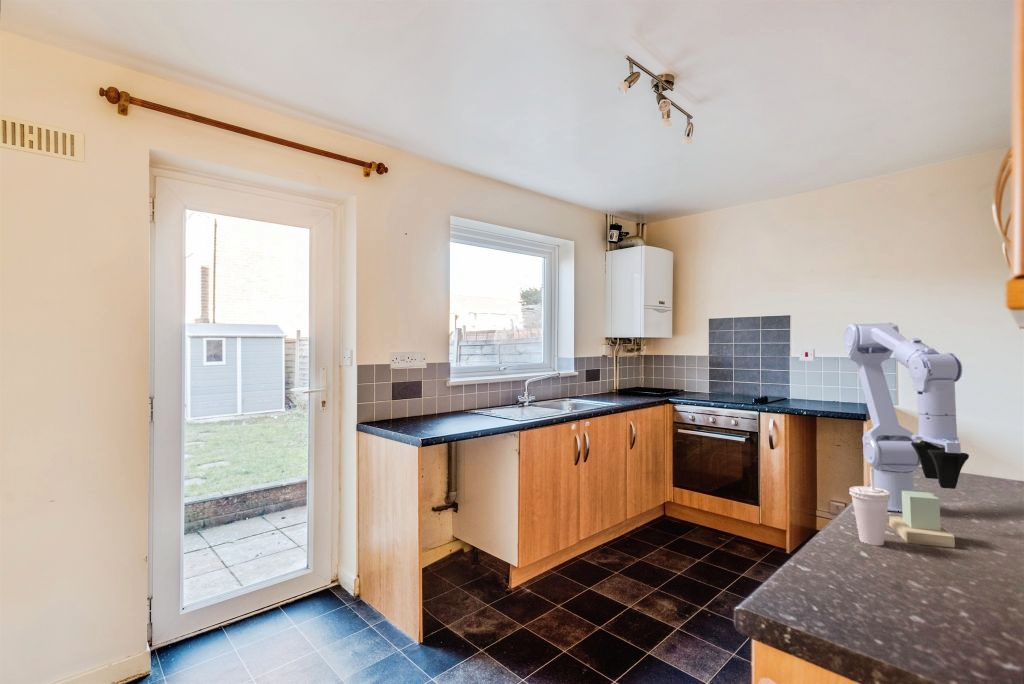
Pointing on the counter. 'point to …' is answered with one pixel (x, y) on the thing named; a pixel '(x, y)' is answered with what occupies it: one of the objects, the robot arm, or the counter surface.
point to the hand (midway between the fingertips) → (939, 483)
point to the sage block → (921, 510)
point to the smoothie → (870, 511)
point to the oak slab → (921, 534)
